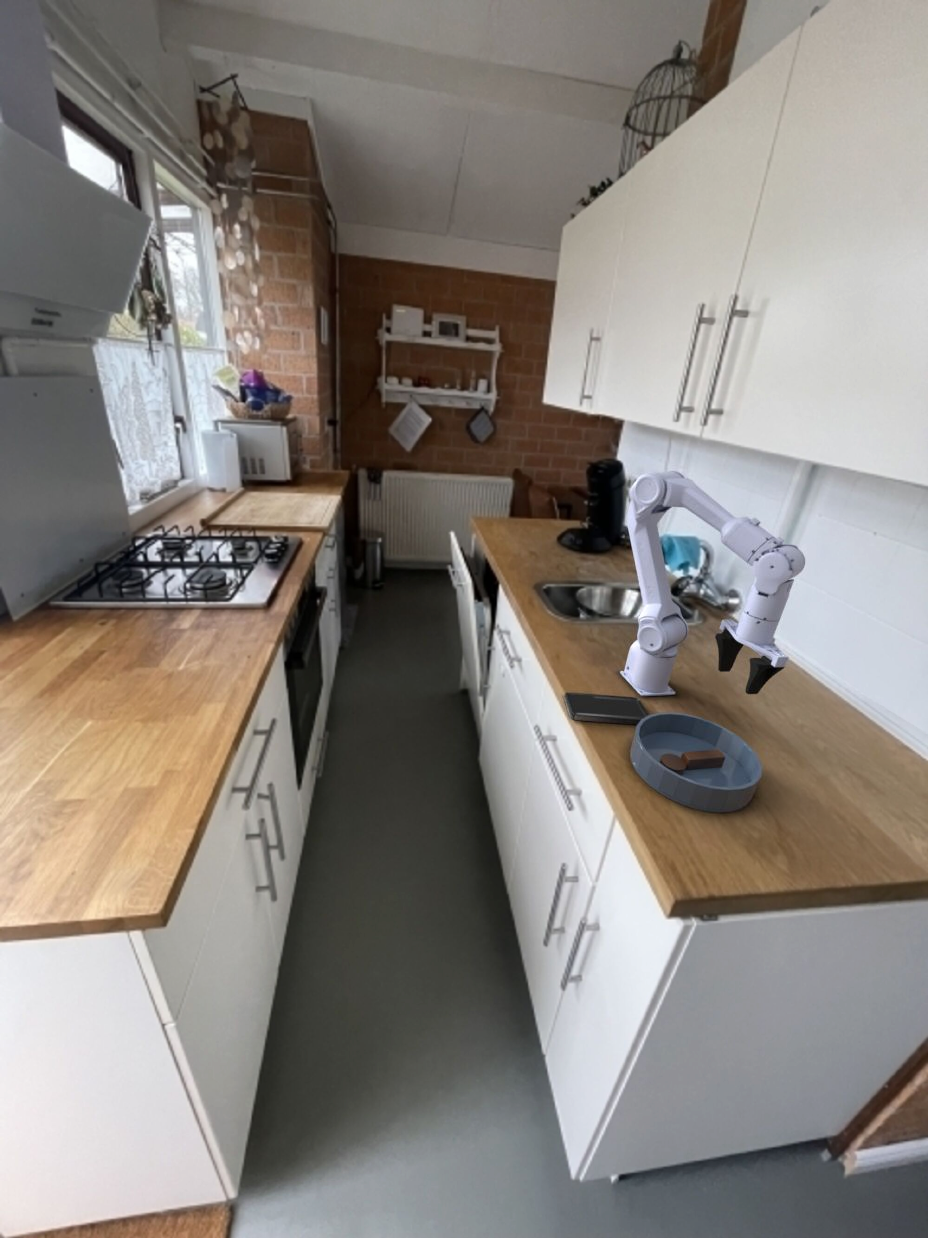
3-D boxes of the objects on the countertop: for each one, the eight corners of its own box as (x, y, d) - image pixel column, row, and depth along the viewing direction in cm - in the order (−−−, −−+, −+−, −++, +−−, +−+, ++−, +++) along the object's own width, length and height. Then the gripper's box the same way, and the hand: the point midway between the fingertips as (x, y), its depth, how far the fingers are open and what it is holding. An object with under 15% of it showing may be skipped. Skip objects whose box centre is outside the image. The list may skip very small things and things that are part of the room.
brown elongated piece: (667, 776, 82) (671, 765, 81) (654, 760, 85) (657, 749, 84) (726, 771, 84) (730, 761, 83) (710, 755, 88) (714, 745, 87)
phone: (651, 721, 94) (571, 714, 94) (650, 725, 95) (570, 719, 94) (638, 697, 102) (564, 691, 101) (637, 702, 102) (563, 696, 102)
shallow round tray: (609, 735, 91) (615, 715, 89) (704, 729, 95) (711, 709, 94) (670, 818, 74) (678, 795, 72) (781, 806, 78) (791, 784, 77)
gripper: (814, 633, 83) (785, 703, 88) (752, 598, 95) (730, 661, 101) (777, 633, 81) (750, 704, 87) (719, 597, 94) (698, 662, 100)
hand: (737, 681), depth 94 cm, fingers open, 7 cm apart
